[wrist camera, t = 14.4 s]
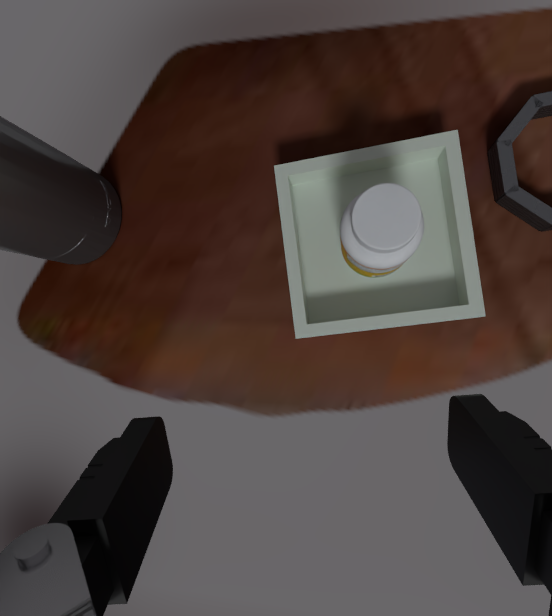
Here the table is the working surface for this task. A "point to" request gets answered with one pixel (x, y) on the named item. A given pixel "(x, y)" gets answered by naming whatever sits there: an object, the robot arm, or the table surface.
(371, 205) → the supplement bottle
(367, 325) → the tray
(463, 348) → the table surface
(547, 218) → the holder ring
